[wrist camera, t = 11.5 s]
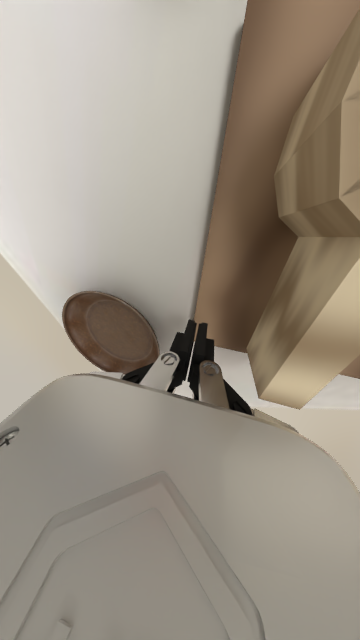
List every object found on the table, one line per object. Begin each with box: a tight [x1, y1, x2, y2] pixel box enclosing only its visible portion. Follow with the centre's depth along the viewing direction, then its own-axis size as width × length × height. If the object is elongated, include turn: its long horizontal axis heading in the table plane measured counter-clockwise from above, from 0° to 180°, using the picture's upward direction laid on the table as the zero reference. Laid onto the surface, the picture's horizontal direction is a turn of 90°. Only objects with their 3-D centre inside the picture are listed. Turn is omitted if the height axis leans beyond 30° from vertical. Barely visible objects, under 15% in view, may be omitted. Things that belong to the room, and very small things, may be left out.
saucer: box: [62, 291, 160, 374], centre depth 20 cm, size 15×15×3 cm
